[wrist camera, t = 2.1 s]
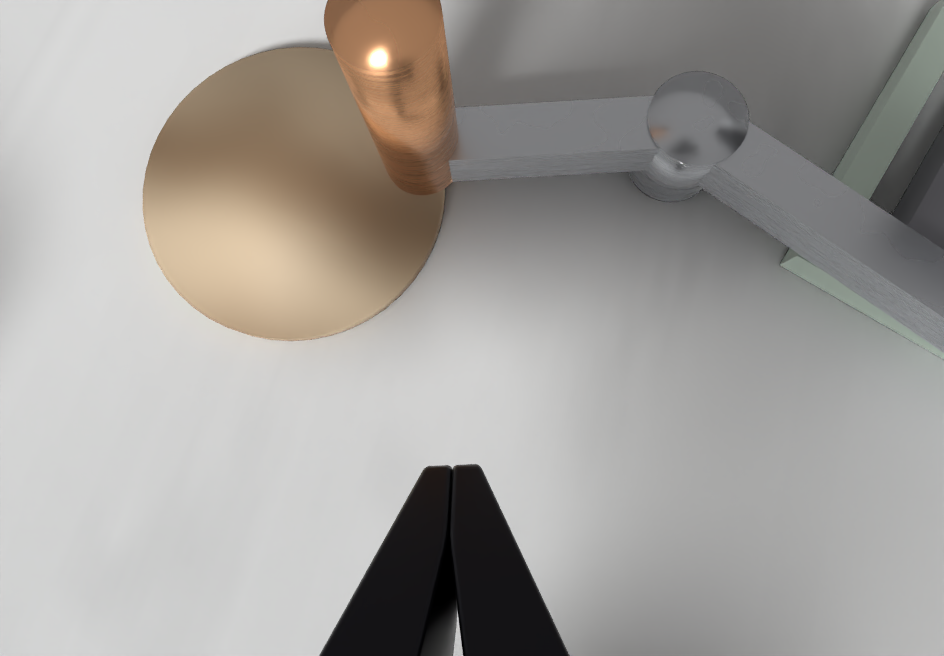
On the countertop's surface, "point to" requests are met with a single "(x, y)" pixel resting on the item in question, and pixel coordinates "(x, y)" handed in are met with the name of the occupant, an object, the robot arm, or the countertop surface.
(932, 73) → the socket frame
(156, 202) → the coaster
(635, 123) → the grey rod with hub
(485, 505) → the robot arm
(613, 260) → the countertop surface
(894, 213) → the plug
